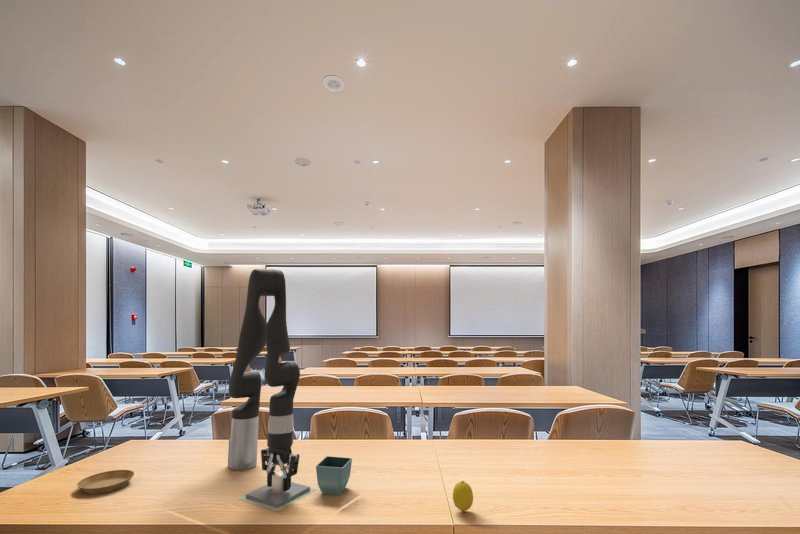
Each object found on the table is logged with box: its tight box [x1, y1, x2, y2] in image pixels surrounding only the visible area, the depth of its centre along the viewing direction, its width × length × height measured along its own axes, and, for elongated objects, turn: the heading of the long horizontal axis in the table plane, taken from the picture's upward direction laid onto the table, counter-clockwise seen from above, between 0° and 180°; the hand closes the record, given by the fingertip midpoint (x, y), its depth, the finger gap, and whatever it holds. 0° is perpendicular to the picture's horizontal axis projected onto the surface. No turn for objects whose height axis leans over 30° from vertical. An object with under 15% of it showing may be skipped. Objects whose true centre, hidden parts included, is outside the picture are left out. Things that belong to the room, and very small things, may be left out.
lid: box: [245, 471, 311, 508], centre depth 119 cm, size 13×13×5 cm
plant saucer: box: [76, 469, 135, 495], centre depth 127 cm, size 15×15×3 cm
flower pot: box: [315, 455, 353, 496], centre depth 122 cm, size 9×9×9 cm
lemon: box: [452, 480, 474, 513], centre depth 109 cm, size 6×6×8 cm
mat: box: [238, 487, 318, 512], centre depth 119 cm, size 16×16×1 cm
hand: (278, 487), depth 119 cm, fingers open, 5 cm apart
